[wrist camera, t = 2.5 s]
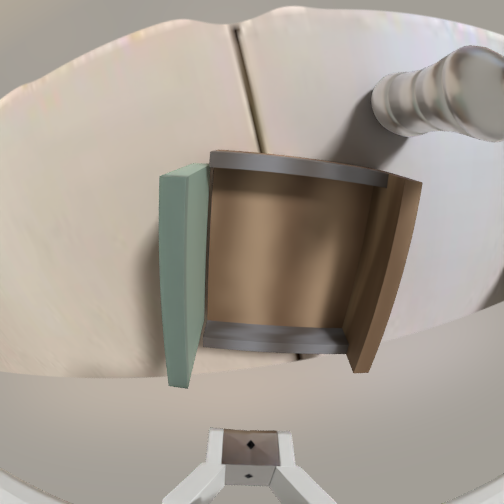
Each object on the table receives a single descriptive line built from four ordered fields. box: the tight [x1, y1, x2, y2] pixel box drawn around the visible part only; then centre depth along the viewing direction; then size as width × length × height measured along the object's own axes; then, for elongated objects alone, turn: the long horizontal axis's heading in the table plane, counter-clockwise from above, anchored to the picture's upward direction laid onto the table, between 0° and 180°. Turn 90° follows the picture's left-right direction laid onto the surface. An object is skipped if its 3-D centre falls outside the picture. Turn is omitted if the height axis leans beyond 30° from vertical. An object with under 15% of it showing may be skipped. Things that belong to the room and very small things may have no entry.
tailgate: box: [159, 163, 210, 388], centre depth 23 cm, size 2×16×10 cm, turn 175°
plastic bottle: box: [371, 45, 504, 142], centre depth 16 cm, size 6×7×20 cm
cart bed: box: [203, 150, 422, 373], centre depth 27 cm, size 16×18×9 cm
